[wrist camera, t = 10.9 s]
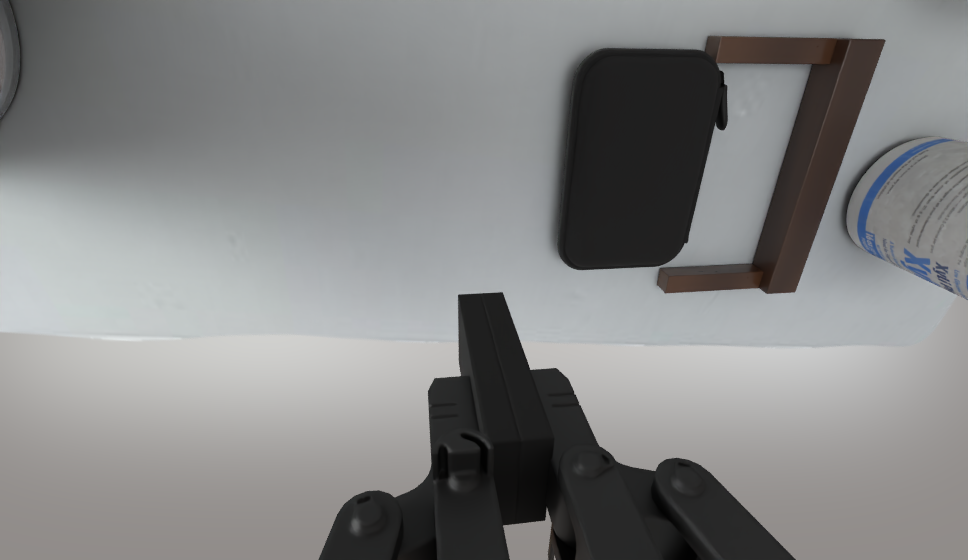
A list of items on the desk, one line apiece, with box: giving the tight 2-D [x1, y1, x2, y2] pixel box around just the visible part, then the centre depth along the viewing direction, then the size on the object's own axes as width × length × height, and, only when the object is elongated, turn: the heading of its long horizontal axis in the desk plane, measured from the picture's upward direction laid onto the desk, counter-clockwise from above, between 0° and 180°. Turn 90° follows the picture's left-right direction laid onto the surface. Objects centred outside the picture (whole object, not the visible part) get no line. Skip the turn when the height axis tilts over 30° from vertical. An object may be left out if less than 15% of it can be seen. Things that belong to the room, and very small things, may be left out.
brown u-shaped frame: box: [657, 36, 885, 294], centre depth 35 cm, size 10×18×2 cm, turn 179°
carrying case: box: [557, 48, 728, 270], centre depth 33 cm, size 11×3×15 cm
